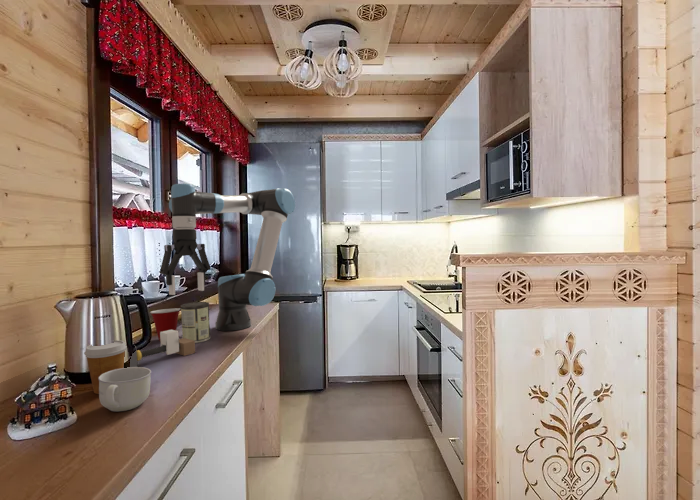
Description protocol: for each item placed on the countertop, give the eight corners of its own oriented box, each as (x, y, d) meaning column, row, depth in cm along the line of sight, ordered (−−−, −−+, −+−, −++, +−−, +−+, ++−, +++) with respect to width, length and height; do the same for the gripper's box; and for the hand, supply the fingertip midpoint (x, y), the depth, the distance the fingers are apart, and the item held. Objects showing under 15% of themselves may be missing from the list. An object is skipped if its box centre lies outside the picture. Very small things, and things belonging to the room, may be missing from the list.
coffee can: (190, 336, 154) (189, 301, 154) (215, 336, 153) (213, 301, 153) (176, 343, 144) (175, 306, 144) (202, 343, 143) (201, 306, 143)
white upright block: (172, 349, 131) (171, 329, 131) (179, 351, 128) (178, 331, 128) (160, 352, 128) (159, 332, 127) (167, 354, 125) (166, 333, 125)
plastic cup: (180, 334, 158) (178, 305, 157) (183, 340, 149) (182, 309, 148) (150, 338, 152) (149, 308, 152) (152, 344, 143) (151, 313, 143)
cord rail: (184, 349, 136) (183, 330, 135) (195, 352, 131) (194, 332, 131) (117, 367, 118) (116, 345, 118) (127, 372, 114) (126, 349, 114)
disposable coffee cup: (109, 381, 107) (107, 339, 106) (137, 383, 104) (134, 340, 104) (77, 395, 98) (74, 349, 97) (106, 398, 95) (104, 351, 95)
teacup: (119, 396, 96) (117, 365, 96) (161, 396, 96) (159, 364, 95) (78, 423, 82) (76, 387, 82) (127, 423, 82) (125, 386, 82)
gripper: (157, 228, 121) (160, 298, 121) (219, 228, 139) (221, 289, 140) (146, 229, 125) (148, 296, 126) (207, 229, 143) (209, 287, 144)
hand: (187, 292), depth 133 cm, fingers open, 10 cm apart
